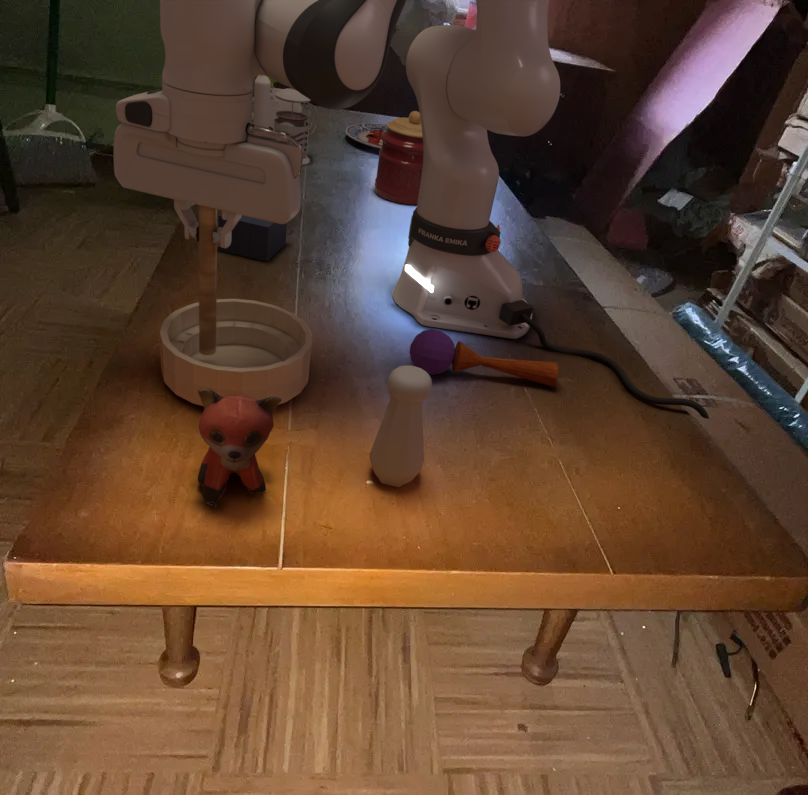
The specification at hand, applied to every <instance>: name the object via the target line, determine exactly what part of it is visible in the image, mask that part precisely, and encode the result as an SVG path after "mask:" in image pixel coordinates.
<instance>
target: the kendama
mask: <svg viewBox="0 0 808 795" xmlns="http://www.w3.org/2000/svg"><path fill="white" fill-rule="evenodd" d="M409 356H410V361H411V363H412V364H413V366H416V367H419V368H421V369H423V370H424V371H426V372H427V373H428V374H429V375H430V376H431V375H432V376H435V375H439V374H443V373H444V372H445V371H447V370H448V369H449V368H451V371H452V372H453V373H456V372H459V371H463V370H467V369H471V368H474V367H478V366H482V367H486V368H489V369H492V370H495V371H498V372H502V373H506V374H509V375H511V376H514V377H518V378H521V379H525V380H529V381H532V382H534V383H537V384H542V385H544V386H548V387H554V386H555V384H556V382H557V380H558V376H559V364H558V363H557V362H552V361H540V360H528V359H515V358H514V359H513V358H501V357H487V356H486V357H484V356H481V355H480V354H478V352H476V351H474V350H473V349H471V348H470V347H468V346H467V345H466V344H465V343H463V342H462V341H460V340H458V341H457V342H456V344H455V343H454V341H453V340H452V338H451V337H450V335H448V334H446V333H445V332H444V331H442V330H439V329H434V328H430V329H425V330H422V331H421V332H420V333H418V334H416V336H415V337H414V338H413V340H412V341H411V343H410V346H409Z"/></svg>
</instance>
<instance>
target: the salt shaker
mask: <svg viewBox="0 0 808 795" xmlns="http://www.w3.org/2000/svg"><path fill="white" fill-rule="evenodd" d="M387 380H388V381H387V389H388V392H389V394H390V398H389V401H388V404H387V406H386V408H385V411H384V414H383V416H382V419H381V422H380V425H379V427H378V430H377V433H376V435H375V439H374V441H373V444H372V446H371V449H370V452H369V460H370V463H371V466H372V470H373V473H374V474H375V476H376V477H377V479H378V480H379V482H380V483H381V484H384V485H387V486H392V487H396V488H400V487H402V486H404V485H407V484H408V483H411V482H412V481H413V480H414V479H415V478H416V476H418V474H419V473H420V472H421V471H422V469H423V466H424V461H425V446H424V442H425V441H424V422H423V421H424V419H423V417H424V416H423V401H425V400H426V399H428V398H429V396H430V393H431V389H432V386H433V384H432V383H433V382H432V381H433V379H432V378H431V375H430V374H428V373H427V372H426V371H424V370H423V369H421V368H419V367H416V366H415V365H400V366H398V367H396V368H395V369H393V370H392V371H391V373H390V375H389V378H388V379H387Z"/></svg>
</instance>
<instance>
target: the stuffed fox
mask: <svg viewBox="0 0 808 795" xmlns="http://www.w3.org/2000/svg"><path fill="white" fill-rule="evenodd" d="M198 394H199V396H200V399H201V401H202V404H203V406H202V407H203V411H202V414H201V416H200V419H199V422H198V431H199V435H200V437H201V439H202V440H203V442H204V443H205V444H206V445H207V446H208V449H207V451H206V452H205V455H204V456H203V459H202V460H201V463H200V467H199V471H198V475H197V481H198V483H199V484H200V485H201V486H202V499H203V501H204V502H205V503H206V504H207V505H209V506H210V507H211V508H217V507H218V504H217V503H218V501H219V500H220V499H221V497H222V496H223V495H224V493H226V489H227V487H226V486H227V484H228V481H229V477H230V475H231V474H233V473H236V474H237V475H238V476H239V478H240V481H241V484H242V485H244V486H245V487H246V489H247V491H248V492H249V493H250V494H258V493H259V494H260V493H264V494H266V493H267V492H266V491H267V490H266V489H267V487H266V482H265V477H264V476H263V474H262V472H261V469H260V467H259V464H258V460H257V456H256V454H257V452H258V451H259V450H260V449H261V448H262V447H263V446H264V444H265V443H266V442H267V440H268V439H269V437H270V434H271V432H272V430H273V429H274V426H275V425H274V424H275V422H274V413H275V411H276V409H277V408H278V406H279V405H280V404H279V403H280V402H281V401H282V399H281V398H278V397H268V398H265V399H261V400H257V399H255V398H254V397H251V396H248V395H245V394H235V395H229V396H225V397H222V396H220V395H218V394H217V393H215V392H214V391H212V390H210V389H200V390H198ZM278 404H279V405H278Z"/></svg>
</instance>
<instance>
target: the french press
mask: <svg viewBox="0 0 808 795" xmlns="http://www.w3.org/2000/svg"><path fill="white" fill-rule="evenodd" d="M282 89H283V90H280V91H278V92H276V93H275V96H276V98H278V99H280V100H283V101H287V102H292V111H291V112H290V111H278V112H277V113H276V115H277V116H278V117H279V118H276V119H274V130H276V131H278V130H280V131H285V132H288V133H290V134H291V136H293V137H294V139H295V140H297V141H298V143H299V144H300V146H301V147H302V150H303V162H302V166H303V165H308V164H310V163H311V159H310V158H309V157H308V156H307V151H308V138H309V137H310V136H312V135H313V133H314V132H315V131H316V128H317V126H318V121H319V120H318V119H319V114H318V110H317V108H316V106H315V105H313V104H312V103H311V101H312V100H310V99H309V98H307V97H305V96H304V95H302V94H301V93H299V92H298V91H297V90H295V89H292V88H290V87H288V88H282ZM293 103H301V104H303V108H304V110H309V109H311V114H312V117H311V123H310V126H309V123H308V122H307V120H308V119H309V117H308V115H307V114H305V113H302V114H301V113H296V112H293ZM306 104H308V106H307V107H306ZM314 111H315V113H316V120H315V121H316V122H315V126H314V128H313V130H312V131H311V132H310V133H309V131H310V130H311V128H312V126H313V123H314V115H315V114H314ZM305 121H306V122H305ZM284 122H287V123H291V124H292V125H294V127H292V126H287V125H282V124H280V123H284ZM290 143H292V144H294V143H293V142H291V141H290ZM303 144H304V145H303Z"/></svg>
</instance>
